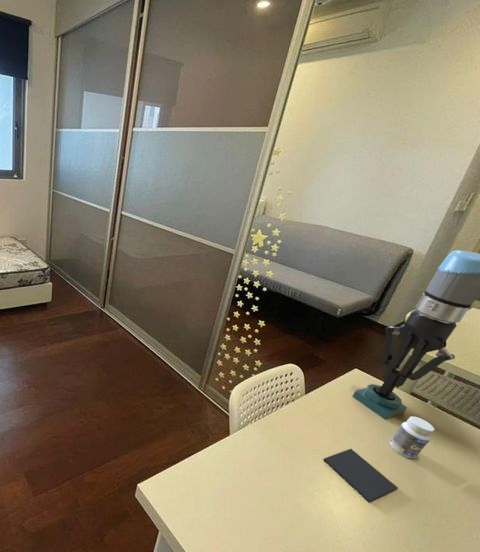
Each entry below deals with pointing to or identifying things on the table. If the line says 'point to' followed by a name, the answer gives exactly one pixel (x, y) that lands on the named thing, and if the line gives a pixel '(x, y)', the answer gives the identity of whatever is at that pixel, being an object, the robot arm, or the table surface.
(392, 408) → the button box
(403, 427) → the pill bottle
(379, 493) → the mat
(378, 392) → the button
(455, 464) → the table surface
